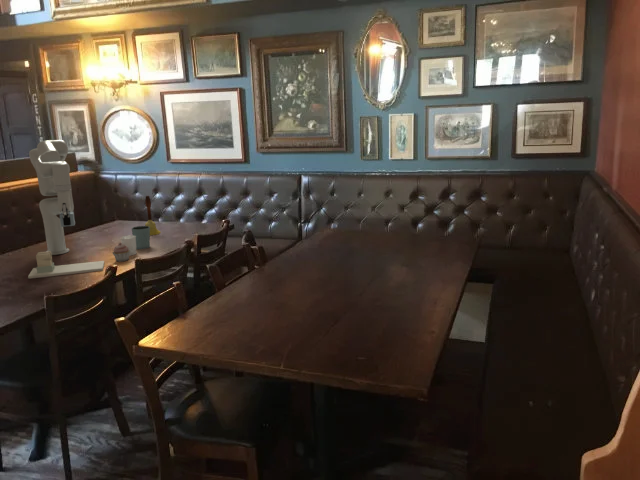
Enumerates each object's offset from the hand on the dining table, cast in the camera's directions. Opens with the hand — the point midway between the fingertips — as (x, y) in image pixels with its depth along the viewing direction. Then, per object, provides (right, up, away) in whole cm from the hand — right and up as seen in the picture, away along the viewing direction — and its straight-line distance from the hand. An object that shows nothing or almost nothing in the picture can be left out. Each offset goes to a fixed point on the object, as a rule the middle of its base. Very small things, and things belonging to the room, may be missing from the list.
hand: (67, 223), depth 269 cm
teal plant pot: (+22, -13, +49) cm, 55 cm away
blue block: (0, -1, 0) cm, 1 cm away
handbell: (+15, -4, +84) cm, 86 cm away
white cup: (+19, -17, +33) cm, 42 cm away
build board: (-2, -24, +5) cm, 24 cm away
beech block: (-12, -21, +1) cm, 24 cm away
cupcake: (+20, -20, +21) cm, 35 cm away
